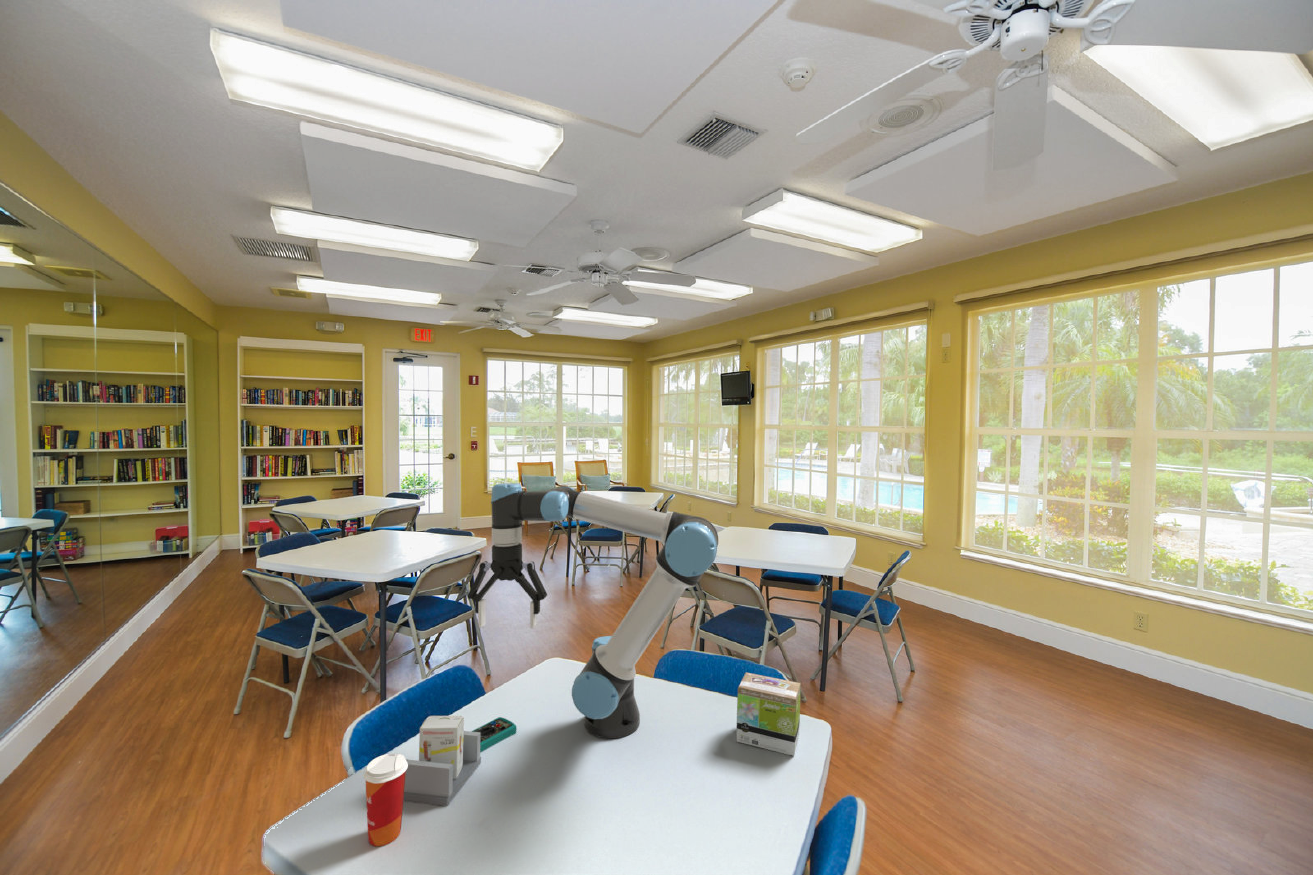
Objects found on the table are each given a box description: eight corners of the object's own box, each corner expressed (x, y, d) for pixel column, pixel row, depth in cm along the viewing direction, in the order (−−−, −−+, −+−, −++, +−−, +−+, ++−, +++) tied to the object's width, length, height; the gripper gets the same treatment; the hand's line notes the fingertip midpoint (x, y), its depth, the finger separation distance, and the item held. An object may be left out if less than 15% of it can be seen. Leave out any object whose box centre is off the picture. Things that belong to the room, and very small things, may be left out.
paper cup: (373, 822, 105) (374, 752, 105) (412, 820, 106) (414, 751, 106) (353, 852, 97) (355, 777, 97) (396, 850, 98) (398, 775, 98)
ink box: (417, 781, 116) (418, 727, 116) (425, 767, 120) (426, 715, 121) (456, 780, 116) (457, 726, 116) (463, 766, 121) (464, 715, 121)
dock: (480, 762, 125) (481, 731, 125) (447, 806, 110) (448, 770, 110) (434, 757, 127) (434, 726, 127) (394, 799, 112) (395, 764, 112)
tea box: (735, 743, 135) (736, 686, 135) (744, 724, 144) (744, 670, 144) (795, 758, 129) (796, 697, 129) (800, 737, 138) (801, 680, 139)
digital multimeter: (518, 733, 138) (518, 722, 138) (469, 760, 126) (470, 748, 126) (501, 724, 143) (501, 714, 143) (452, 750, 131) (452, 738, 131)
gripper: (558, 541, 138) (559, 621, 137) (466, 540, 140) (467, 620, 139) (550, 546, 130) (551, 632, 130) (453, 546, 132) (454, 630, 132)
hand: (507, 626), depth 135 cm, fingers open, 13 cm apart
